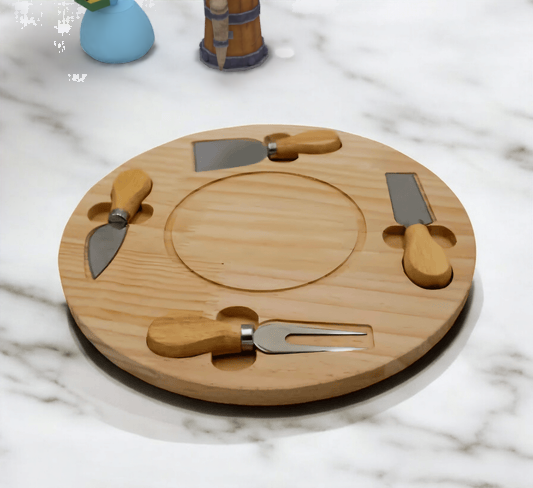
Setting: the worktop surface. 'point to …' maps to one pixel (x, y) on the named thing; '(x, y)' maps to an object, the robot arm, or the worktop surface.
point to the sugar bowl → (116, 32)
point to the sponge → (93, 4)
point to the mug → (232, 35)
